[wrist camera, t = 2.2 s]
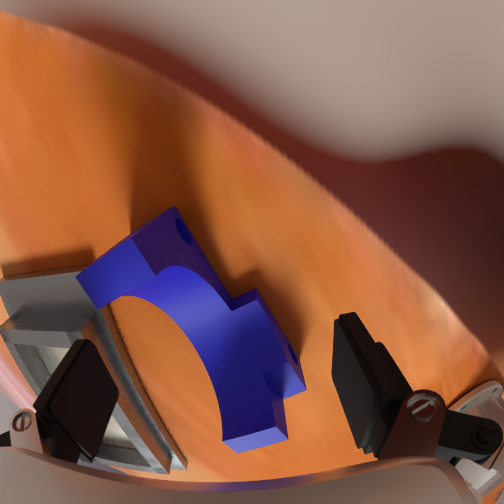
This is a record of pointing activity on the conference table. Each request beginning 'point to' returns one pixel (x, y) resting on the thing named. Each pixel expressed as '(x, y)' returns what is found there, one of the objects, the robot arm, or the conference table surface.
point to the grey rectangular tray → (110, 349)
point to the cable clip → (207, 325)
